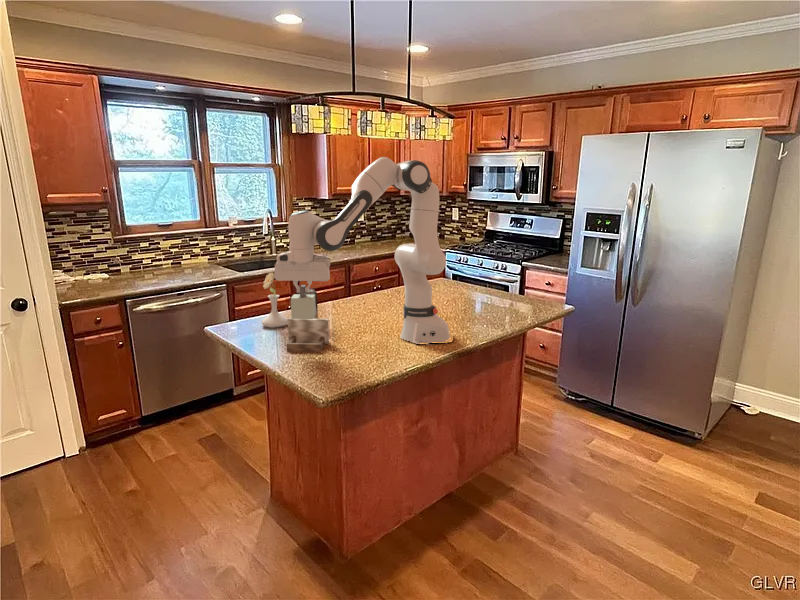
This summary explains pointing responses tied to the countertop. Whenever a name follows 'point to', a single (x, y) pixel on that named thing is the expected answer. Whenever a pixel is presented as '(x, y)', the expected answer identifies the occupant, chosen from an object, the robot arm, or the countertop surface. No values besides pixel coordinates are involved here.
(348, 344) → the countertop surface
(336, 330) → the countertop surface
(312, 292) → the coffee box
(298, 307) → the cube with grey handle
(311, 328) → the tan lidded box
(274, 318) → the flower in vase
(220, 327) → the countertop surface
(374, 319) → the countertop surface
